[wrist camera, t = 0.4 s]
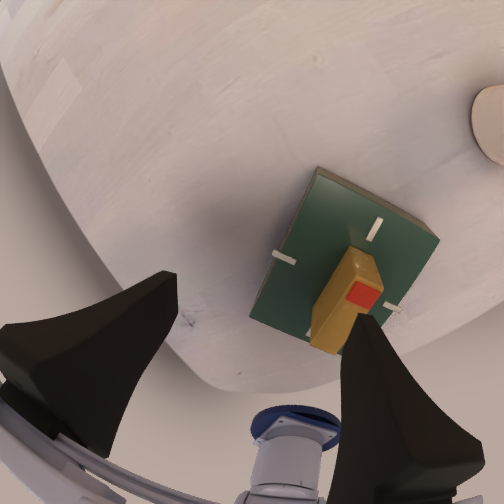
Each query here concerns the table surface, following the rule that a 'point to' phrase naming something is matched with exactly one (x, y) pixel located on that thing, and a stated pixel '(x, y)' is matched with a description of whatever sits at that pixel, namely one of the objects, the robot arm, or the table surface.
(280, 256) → the knob panel
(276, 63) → the table surface
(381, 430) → the robot arm
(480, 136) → the drinking glass
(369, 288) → the yellow block
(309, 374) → the table surface
